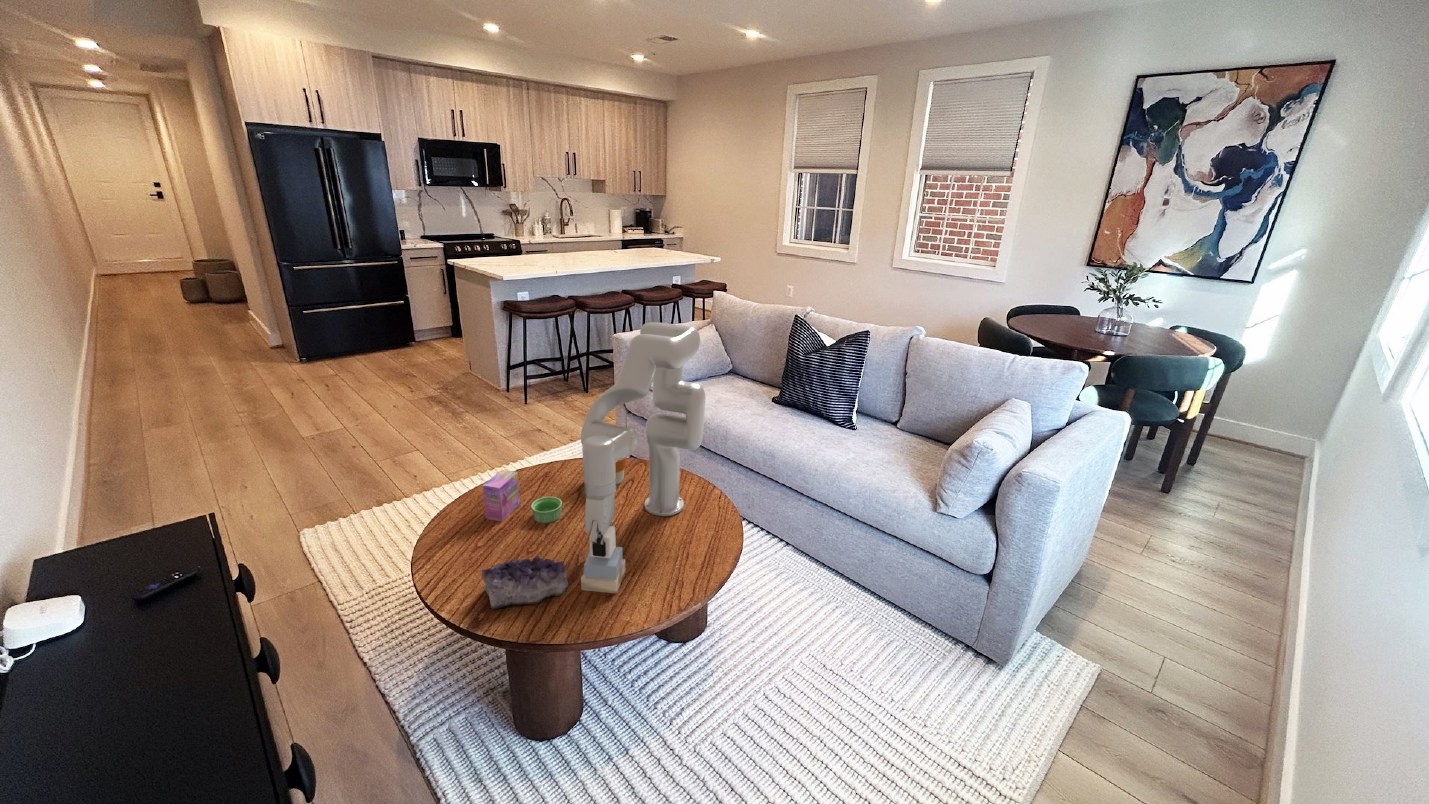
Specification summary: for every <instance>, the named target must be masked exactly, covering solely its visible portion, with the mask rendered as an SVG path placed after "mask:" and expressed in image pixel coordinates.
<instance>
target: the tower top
mask: <svg viewBox="0 0 1429 804" xmlns="http://www.w3.org/2000/svg"><path fill="white" fill-rule="evenodd" d="M623 554H624V553H623V547H622V546H616V547H615V549H614V551H613V553H612V555H611V557H610V558H601V557H591V556H590V550H589V551H588V554H587V556H586V559H585V561H584V564H583V573H585V578H596V579H613V580H617V576H618V573H619V570H620V567H621V563H622V560H623V559H624V558H623Z"/></svg>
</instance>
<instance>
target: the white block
mask: <svg viewBox="0 0 1429 804" xmlns="http://www.w3.org/2000/svg"><path fill="white" fill-rule="evenodd" d="M598 531H600V530H599V529H598ZM588 537H589V538H590V537H591V533H589V536H588ZM597 538H600V539H601V535H599V534H597ZM604 542H605V543H606V556H605V557H601V558H610V557H611V555H612V553H613V551H614V549H615V547H617V543H616V542H617V541H616V526H613V525H612V526H609V527H608V529H607V531H606V533H605V534H604ZM589 551H590V556H591V557H600V556H593V549H592V542H590V541H589Z"/></svg>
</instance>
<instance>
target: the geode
mask: <svg viewBox="0 0 1429 804" xmlns="http://www.w3.org/2000/svg"><path fill="white" fill-rule="evenodd" d="M481 577H482V578H483V581H484V590H485V592H486V594H487V596H488V597H489V602H490V603H489V604H490V607H491V609H501V608H503V607H508V606H511V605H516V606H517V605H518V606H522V605H537V604H539V603H541V602H543V600H544V599H546V598H550V597H552V596H555V597H562V596H563V595H564V593H565V592H566V591H568V588H569V583H568V580H567V577H568V576H567V571H566V566H565V564H564V561H562V560H561V561H555V560H553V559H549V558H541V557H540V555H536V556H535V557H533V558H532V560H531V559H530V558H525V559H514V558H511V560H509V561H505V562H504V563H497V564H495V565H494V566H493V568H492V567H491V568H487V569H485V568H484V569H482V571H481Z"/></svg>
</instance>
